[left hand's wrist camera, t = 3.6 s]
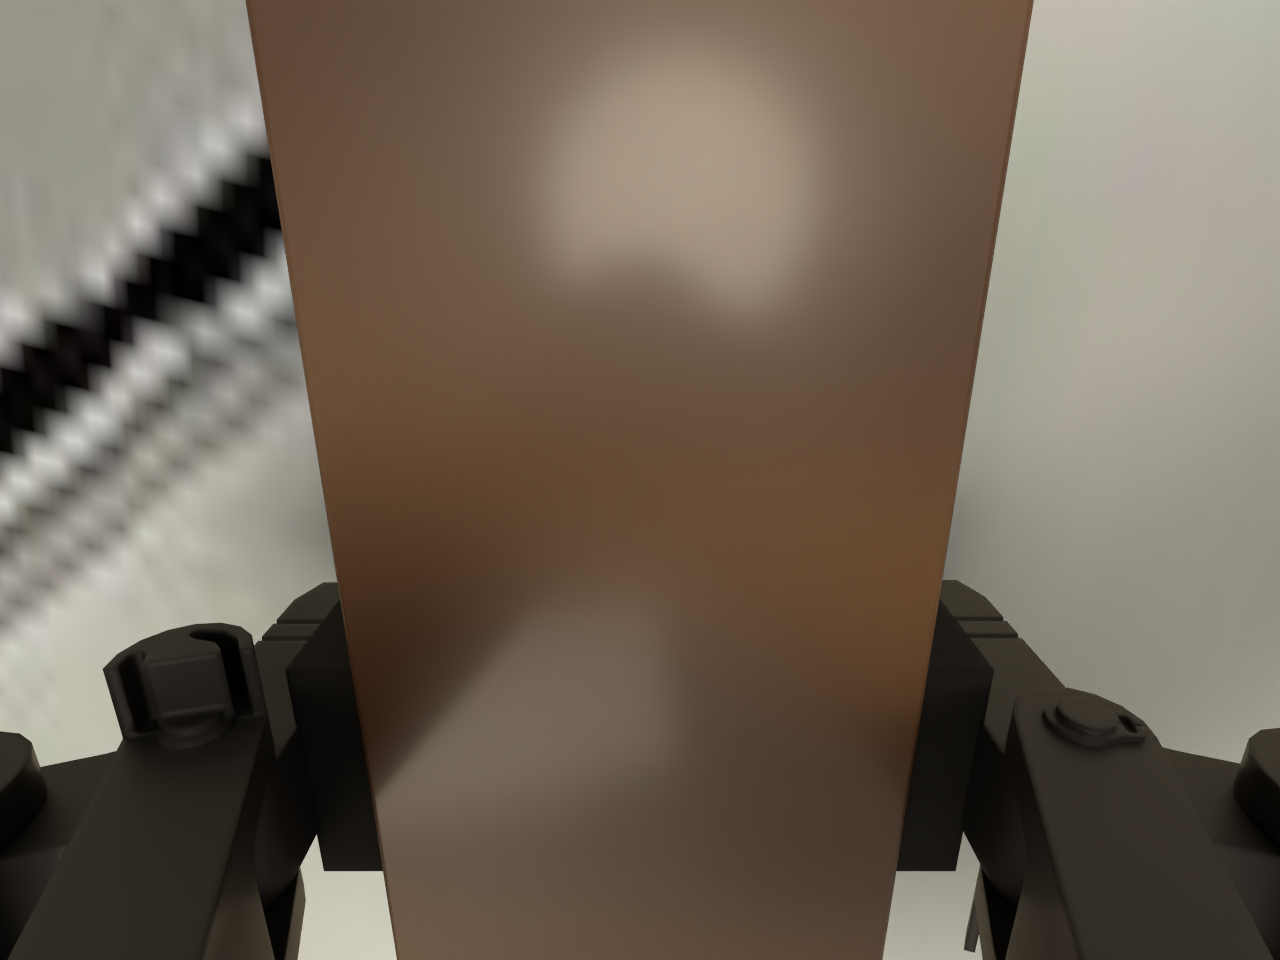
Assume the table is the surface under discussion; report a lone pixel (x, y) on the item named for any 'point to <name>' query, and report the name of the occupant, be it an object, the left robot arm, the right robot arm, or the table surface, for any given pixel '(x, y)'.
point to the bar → (639, 441)
